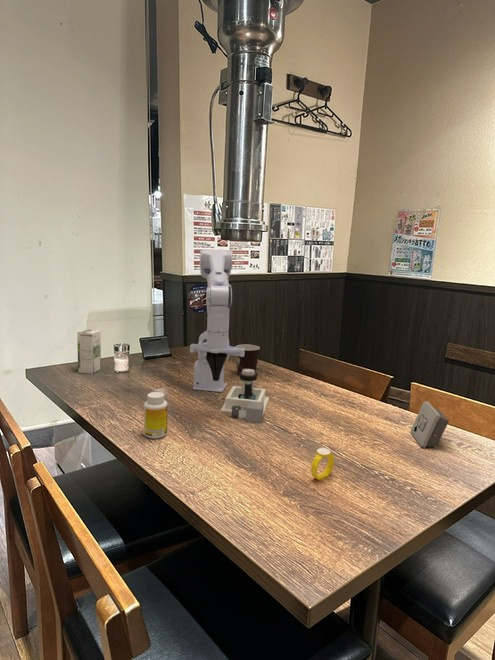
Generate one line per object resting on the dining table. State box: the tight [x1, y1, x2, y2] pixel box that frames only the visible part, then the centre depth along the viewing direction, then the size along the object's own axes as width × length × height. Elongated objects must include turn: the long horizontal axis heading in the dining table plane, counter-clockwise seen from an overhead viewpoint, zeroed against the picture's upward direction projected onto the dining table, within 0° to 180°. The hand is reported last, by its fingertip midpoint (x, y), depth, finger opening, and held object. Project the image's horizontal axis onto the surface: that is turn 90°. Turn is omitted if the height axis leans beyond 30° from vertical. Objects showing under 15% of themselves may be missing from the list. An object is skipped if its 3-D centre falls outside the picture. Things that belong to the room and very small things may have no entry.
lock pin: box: [231, 406, 264, 422], centre depth 118 cm, size 8×3×3 cm, turn 81°
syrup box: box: [76, 328, 102, 375], centre depth 150 cm, size 6×6×14 cm
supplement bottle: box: [143, 391, 168, 439], centre depth 105 cm, size 6×6×10 cm
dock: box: [220, 385, 270, 424], centre depth 125 cm, size 12×19×4 cm, turn 171°
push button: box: [238, 369, 259, 400], centre depth 126 cm, size 7×5×10 cm
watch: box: [310, 447, 335, 481], centre depth 89 cm, size 6×3×6 cm, turn 132°
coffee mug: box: [235, 343, 261, 377], centre depth 157 cm, size 12×9×10 cm
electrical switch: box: [410, 400, 450, 449], centre depth 108 cm, size 9×5×9 cm, turn 176°
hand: (216, 379), depth 117 cm, fingers closed
